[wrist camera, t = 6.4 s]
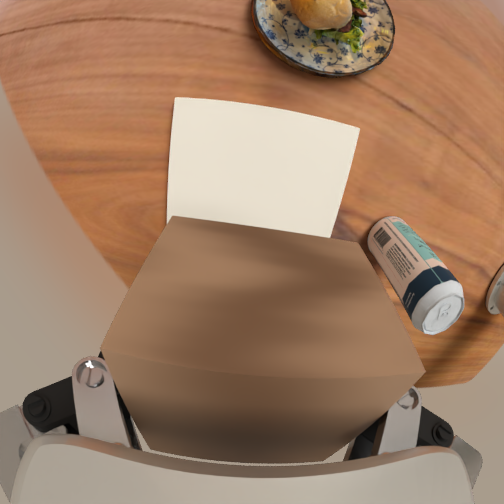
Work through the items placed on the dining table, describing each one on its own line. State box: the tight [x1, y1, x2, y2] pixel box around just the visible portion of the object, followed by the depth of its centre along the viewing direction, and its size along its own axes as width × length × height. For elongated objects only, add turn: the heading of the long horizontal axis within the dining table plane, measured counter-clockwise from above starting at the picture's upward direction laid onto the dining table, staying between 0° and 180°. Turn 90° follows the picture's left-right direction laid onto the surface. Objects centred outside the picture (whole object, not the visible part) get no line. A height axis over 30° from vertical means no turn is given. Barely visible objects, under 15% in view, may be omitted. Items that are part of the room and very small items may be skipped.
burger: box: [251, 0, 395, 78], centre depth 12 cm, size 12×12×8 cm
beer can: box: [368, 216, 464, 335], centre depth 21 cm, size 5×5×12 cm
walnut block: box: [100, 216, 426, 463], centre depth 9 cm, size 7×7×6 cm
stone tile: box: [167, 97, 360, 238], centre depth 23 cm, size 15×15×1 cm
